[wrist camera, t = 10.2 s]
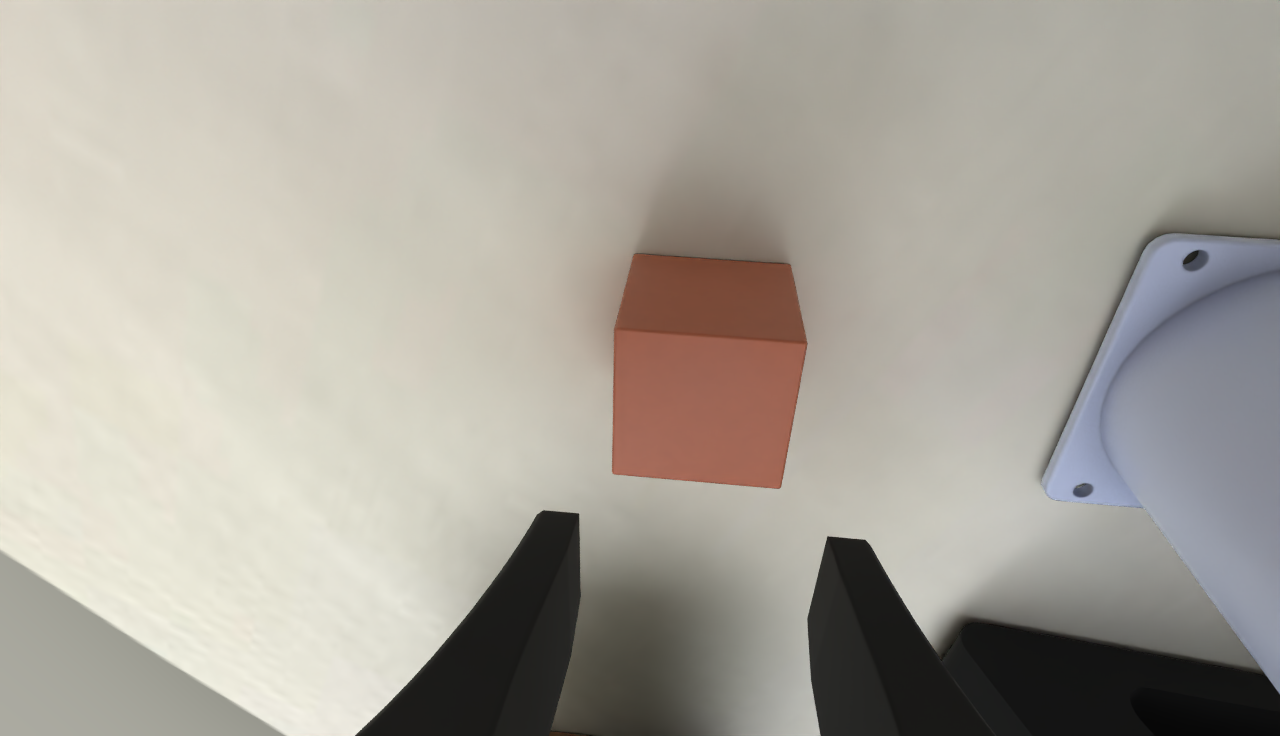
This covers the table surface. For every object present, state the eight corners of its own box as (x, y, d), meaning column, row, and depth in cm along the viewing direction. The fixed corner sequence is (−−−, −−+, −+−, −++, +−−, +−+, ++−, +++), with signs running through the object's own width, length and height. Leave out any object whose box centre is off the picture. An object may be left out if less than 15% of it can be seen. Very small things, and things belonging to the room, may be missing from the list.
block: (791, 263, 18) (808, 343, 14) (770, 394, 20) (781, 490, 17) (633, 252, 18) (614, 328, 15) (629, 383, 20) (611, 475, 17)
